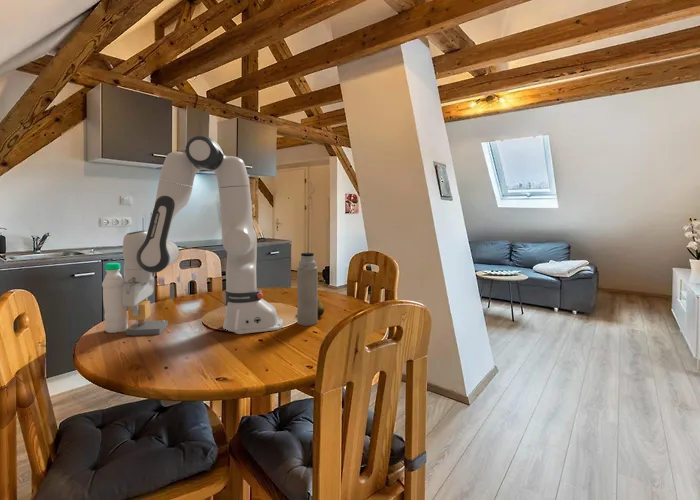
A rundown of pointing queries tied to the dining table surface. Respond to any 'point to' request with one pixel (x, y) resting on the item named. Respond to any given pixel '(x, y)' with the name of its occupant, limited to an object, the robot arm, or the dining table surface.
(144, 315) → the wooden cube
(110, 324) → the white milk bottle
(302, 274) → the thermos bottle
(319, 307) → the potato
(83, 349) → the dining table surface
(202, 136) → the robot arm
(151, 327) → the plate
